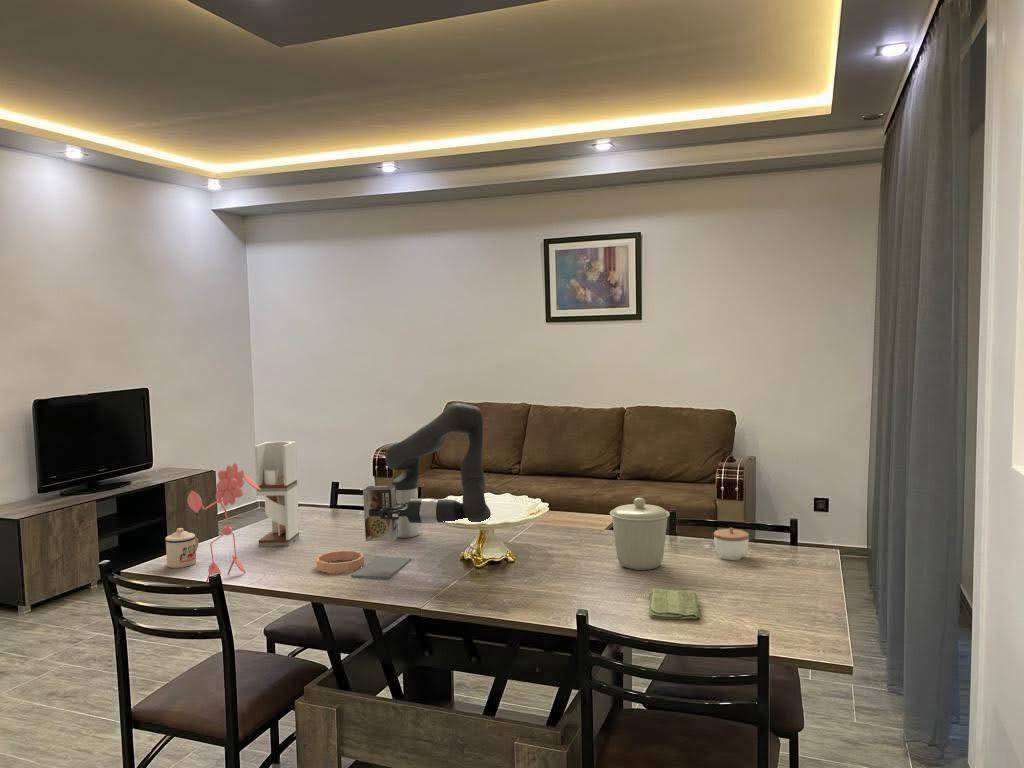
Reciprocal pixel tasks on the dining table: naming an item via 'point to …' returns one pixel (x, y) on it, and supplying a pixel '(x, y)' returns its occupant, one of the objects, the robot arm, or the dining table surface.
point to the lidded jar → (731, 543)
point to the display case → (278, 490)
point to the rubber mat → (381, 567)
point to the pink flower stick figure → (229, 491)
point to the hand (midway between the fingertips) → (374, 509)
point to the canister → (639, 534)
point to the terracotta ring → (343, 566)
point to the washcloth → (673, 604)
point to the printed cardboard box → (374, 525)
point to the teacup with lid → (181, 549)
